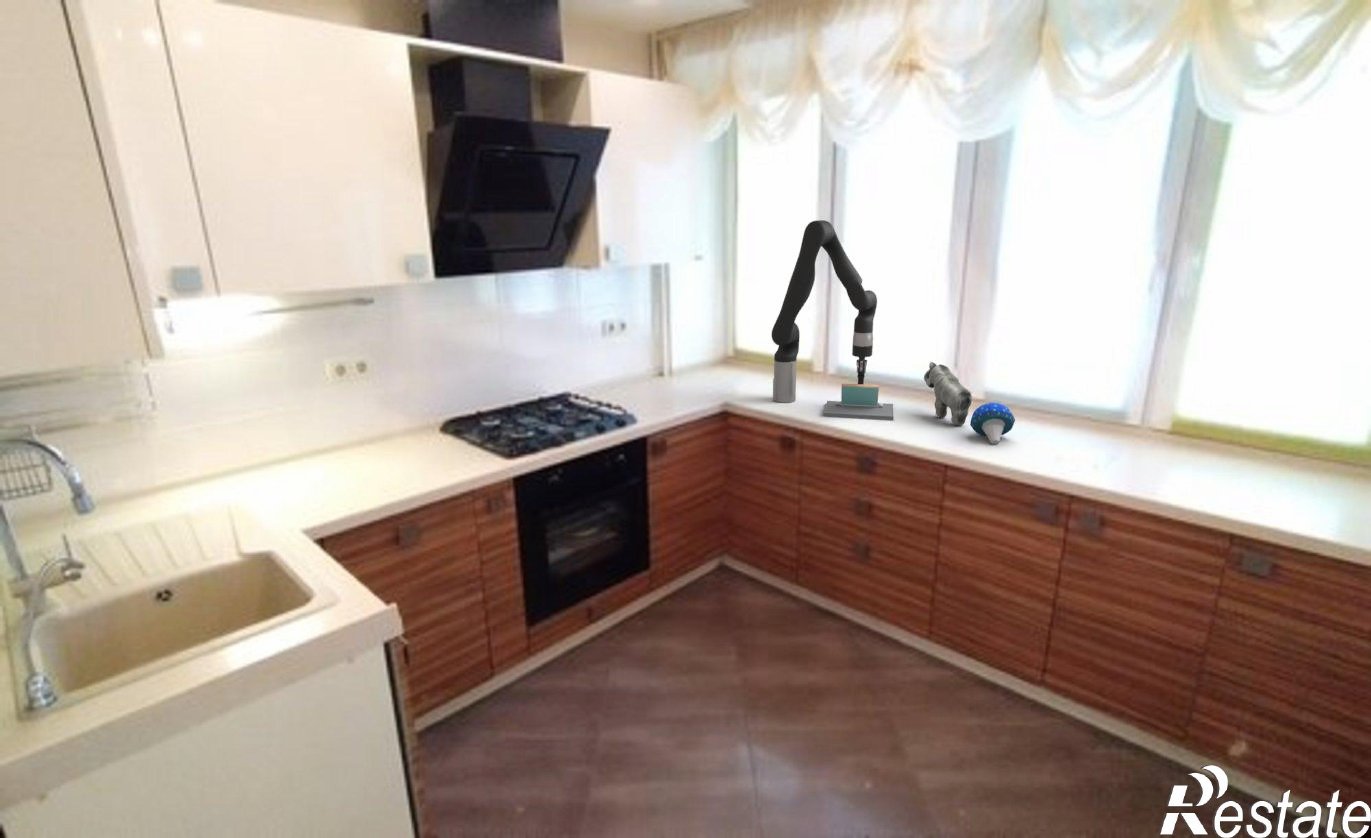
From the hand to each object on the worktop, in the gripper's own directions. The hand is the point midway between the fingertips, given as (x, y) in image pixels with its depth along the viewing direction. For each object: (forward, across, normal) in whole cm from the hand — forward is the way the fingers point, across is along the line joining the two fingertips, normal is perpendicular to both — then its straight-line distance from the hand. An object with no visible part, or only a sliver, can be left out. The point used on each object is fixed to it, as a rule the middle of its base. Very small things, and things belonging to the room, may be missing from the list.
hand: (860, 387), depth 260 cm
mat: (+10, +1, 0) cm, 10 cm away
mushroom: (+10, +25, +45) cm, 52 cm away
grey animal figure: (+10, +4, +31) cm, 33 cm away
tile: (+3, -1, 0) cm, 3 cm away
